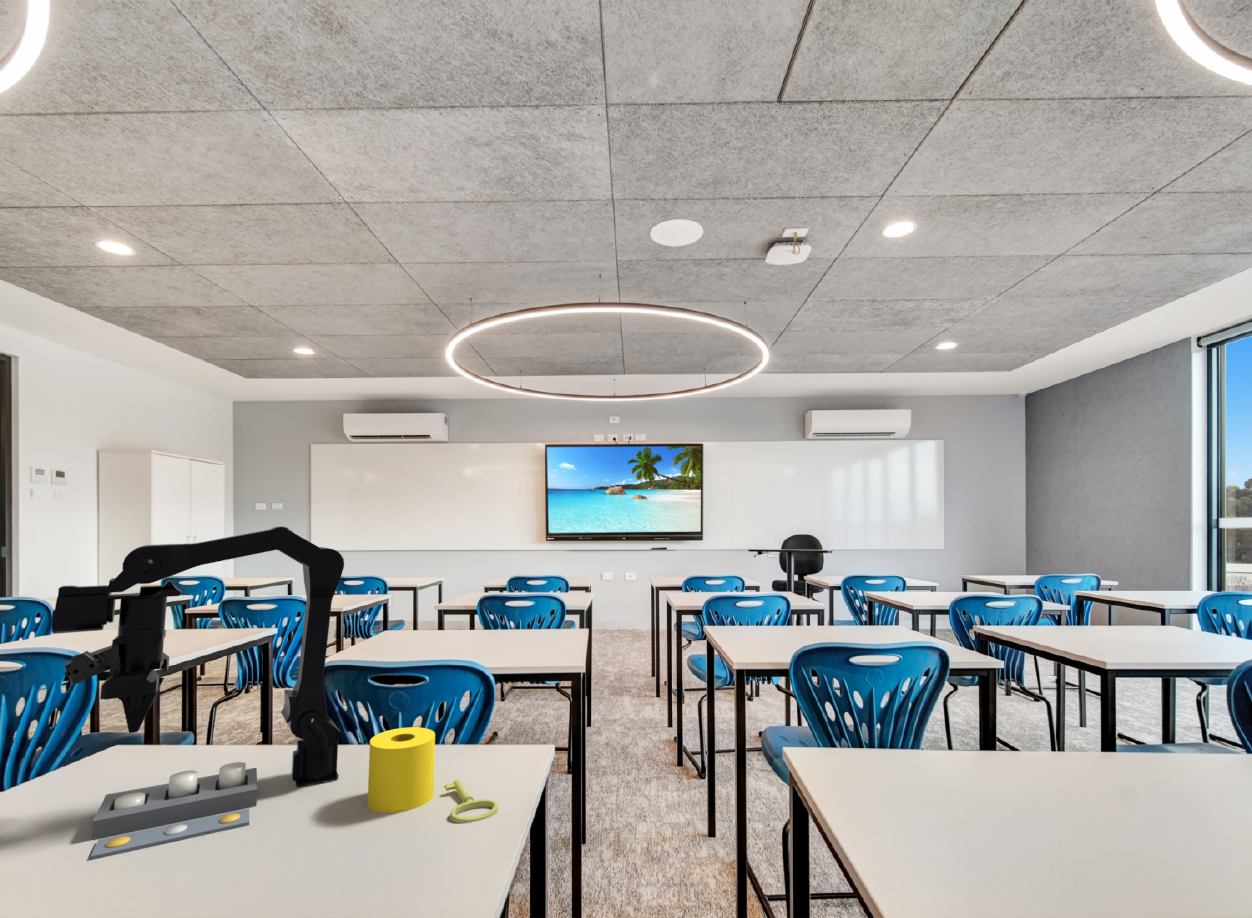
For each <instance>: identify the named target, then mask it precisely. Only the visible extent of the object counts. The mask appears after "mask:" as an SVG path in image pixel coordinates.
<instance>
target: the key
mask: <svg viewBox="0 0 1252 918" xmlns="http://www.w3.org/2000/svg"><path fill="white" fill-rule="evenodd" d="M444 789H445V791H451V790H455V791H456V793H457V795H459V797H460V800H461V803H460V804H457V805H455V806H454V807H453V808H451V810H450V813H449V820H450V821H451V822H453V823H457V824H470V823H471V824H472V823H476V822H479V821H483V820H486V819H489V818H492V817H493V816H495V815H497V813H498V812H499V804H498V802H497V801H495V800H493V799H487V798H486V799H485V798H483V799H475V798H474V797H473V796H472V795H469V793H468V791H467V790H466V788H465V787H464V786H463V783H462V782H461V781H460V780H459V779H455V780H454V781H453V782H452V783H449V784H448V783H447V784H445V785H444ZM479 808H481V809H482V808H491V809H490V810H488V811H487V812H485V813H482V814H480V815H475V816H460V814H461V813H463V812H466V811H470V810H473V809H474V810H475V809H479Z"/></svg>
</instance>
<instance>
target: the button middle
mask: <svg viewBox="0 0 1252 918" xmlns="http://www.w3.org/2000/svg"><path fill="white" fill-rule="evenodd" d="M198 773H199V772H198V771H197V770H183V771H179V772H176V773H173V774H172V775H170V776H169V781H168V783H169V792H168V799H174V798H180V797H185V796H190V795H195V794H196V791H197V778H198Z"/></svg>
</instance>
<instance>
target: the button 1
mask: <svg viewBox="0 0 1252 918" xmlns="http://www.w3.org/2000/svg"><path fill="white" fill-rule="evenodd" d="M143 804H145V793H131V794H127V795H123V796H121V797H119V798H117V799H116V800H115V803H114V810H117V809H122V808H127V807H132V806H138V805H143Z"/></svg>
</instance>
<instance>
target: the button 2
mask: <svg viewBox="0 0 1252 918" xmlns="http://www.w3.org/2000/svg"><path fill="white" fill-rule="evenodd" d="M246 766H247V763H246V762H243V761H241V762H240V761H237V762H230V763H227V764H224V765H222V766H220V767H219V769H218V770H219V772H218V774H219V786H218V789H219V790H222V789H227V788H232V787H237V786H243V785H244V784H245V770H246V768H247V767H246Z"/></svg>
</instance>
